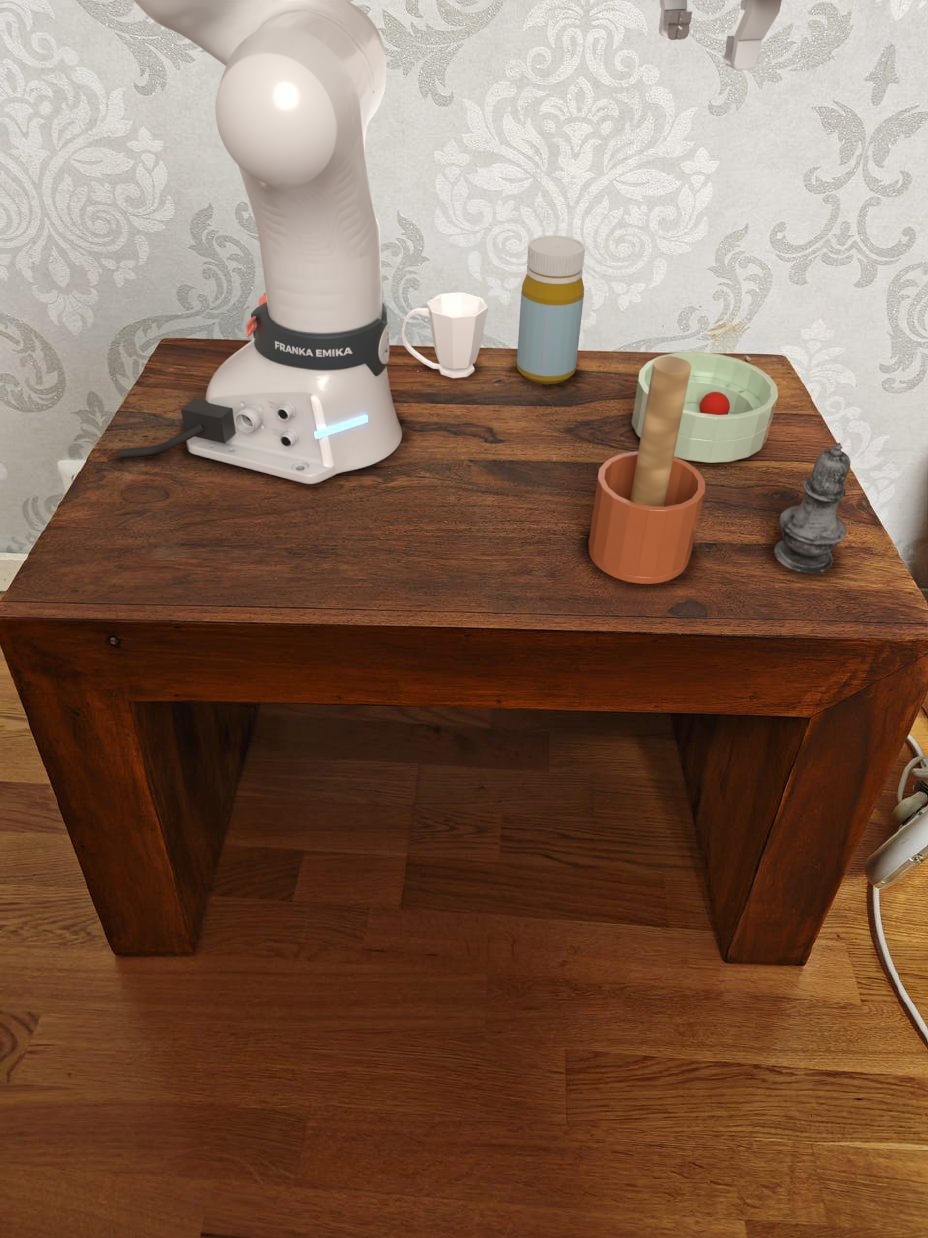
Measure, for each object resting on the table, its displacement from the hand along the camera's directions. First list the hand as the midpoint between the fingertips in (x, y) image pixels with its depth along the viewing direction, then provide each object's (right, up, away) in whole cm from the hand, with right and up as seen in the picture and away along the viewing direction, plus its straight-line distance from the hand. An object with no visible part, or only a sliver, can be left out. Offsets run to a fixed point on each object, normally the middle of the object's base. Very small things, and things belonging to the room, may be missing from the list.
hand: (704, 51), depth 69 cm
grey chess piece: (+14, -35, +21) cm, 43 cm away
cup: (-19, -11, +47) cm, 52 cm away
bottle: (-7, -11, +47) cm, 48 cm away
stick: (-1, -34, +20) cm, 39 cm away
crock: (-1, -34, +20) cm, 40 cm away
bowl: (+8, -20, +37) cm, 43 cm away
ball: (+10, -17, +36) cm, 41 cm away
